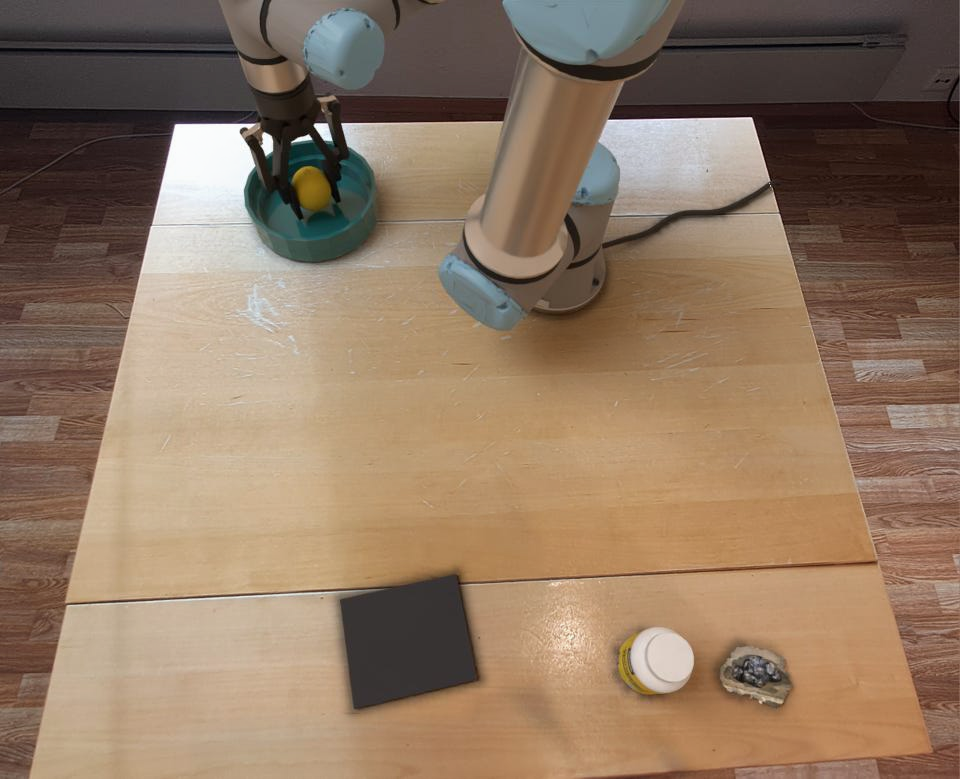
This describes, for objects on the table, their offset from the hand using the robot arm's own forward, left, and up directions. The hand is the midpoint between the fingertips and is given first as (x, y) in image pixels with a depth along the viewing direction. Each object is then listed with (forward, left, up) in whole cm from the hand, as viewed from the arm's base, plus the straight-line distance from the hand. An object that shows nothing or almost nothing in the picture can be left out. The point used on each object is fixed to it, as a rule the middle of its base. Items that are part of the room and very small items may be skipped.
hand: (316, 204), depth 104 cm
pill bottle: (-29, +73, -2) cm, 78 cm away
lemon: (0, 0, -1) cm, 1 cm away
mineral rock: (-41, +77, -2) cm, 87 cm away
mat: (-3, +64, -2) cm, 64 cm away
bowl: (0, 0, -2) cm, 2 cm away
